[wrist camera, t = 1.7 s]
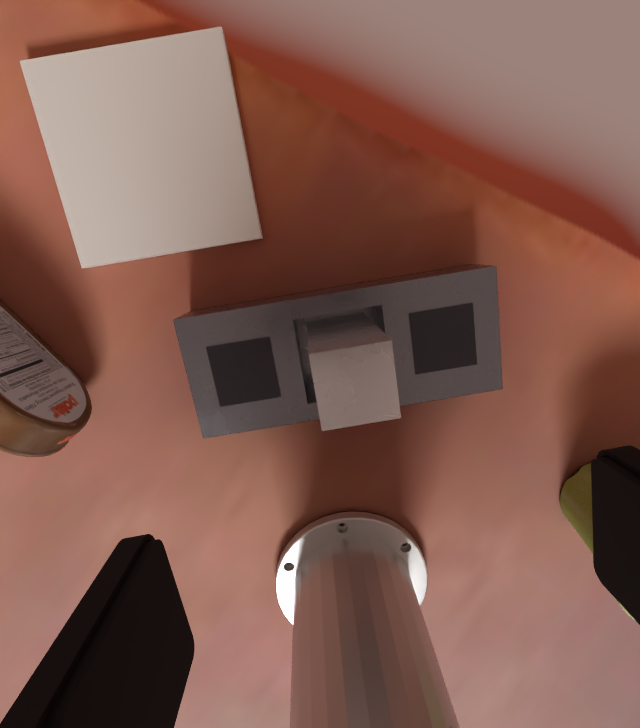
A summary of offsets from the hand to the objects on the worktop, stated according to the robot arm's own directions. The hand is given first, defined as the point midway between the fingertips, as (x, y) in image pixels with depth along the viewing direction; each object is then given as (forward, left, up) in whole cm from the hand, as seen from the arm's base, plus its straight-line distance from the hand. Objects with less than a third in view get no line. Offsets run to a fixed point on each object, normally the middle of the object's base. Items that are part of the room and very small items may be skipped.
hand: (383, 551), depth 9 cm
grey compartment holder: (0, -1, -22) cm, 22 cm away
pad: (+14, +9, -22) cm, 28 cm away
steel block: (0, -1, -22) cm, 22 cm away
